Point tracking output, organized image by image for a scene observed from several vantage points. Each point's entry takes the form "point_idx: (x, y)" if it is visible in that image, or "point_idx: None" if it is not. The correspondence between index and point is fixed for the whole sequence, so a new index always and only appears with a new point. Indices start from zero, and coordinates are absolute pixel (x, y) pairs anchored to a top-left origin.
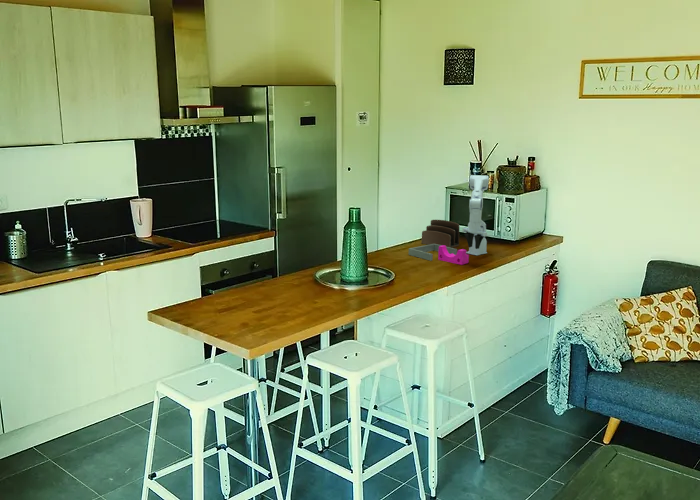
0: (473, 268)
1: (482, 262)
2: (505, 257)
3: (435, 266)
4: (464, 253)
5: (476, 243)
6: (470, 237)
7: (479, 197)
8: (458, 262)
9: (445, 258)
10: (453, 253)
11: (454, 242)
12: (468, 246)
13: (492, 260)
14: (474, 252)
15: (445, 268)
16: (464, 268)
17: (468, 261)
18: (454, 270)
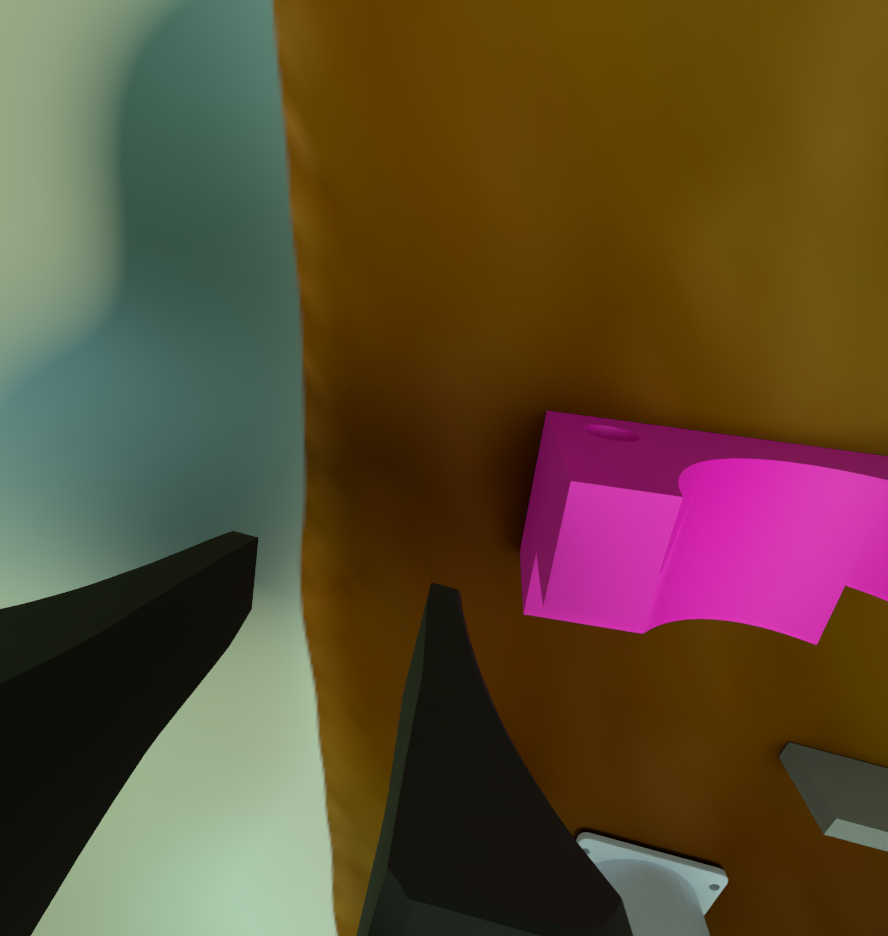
0: (330, 336)
1: (400, 642)
2: (339, 875)
3: (884, 12)
4: (549, 530)
5: (119, 578)
6: (382, 845)
7: None
8: (601, 423)
9: (852, 461)
10: (834, 769)
11: None
12: (456, 594)
13: (367, 751)
14: (618, 873)
15: (664, 16)
16: (419, 251)
17: (520, 559)
18: (478, 6)
